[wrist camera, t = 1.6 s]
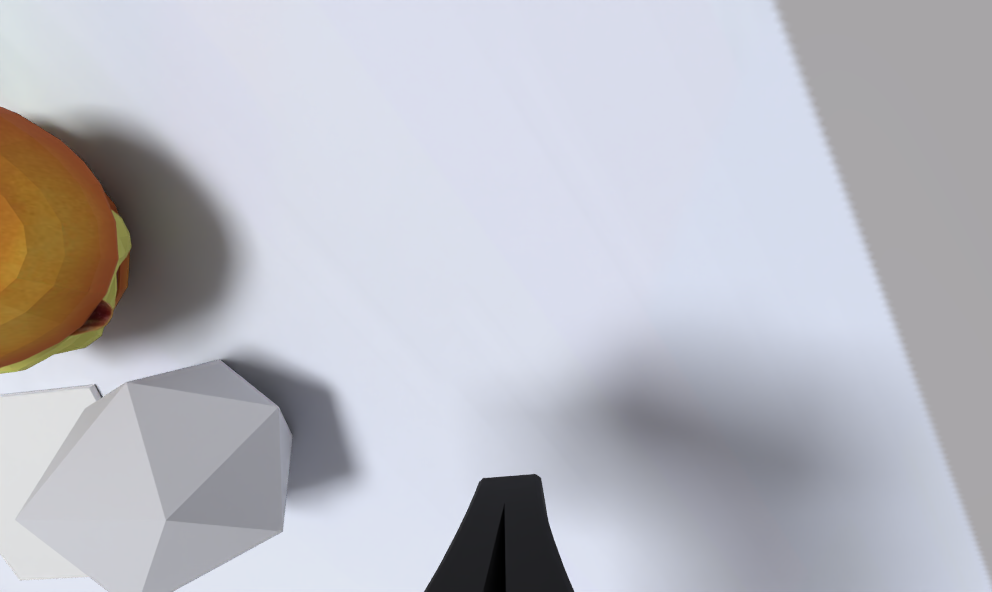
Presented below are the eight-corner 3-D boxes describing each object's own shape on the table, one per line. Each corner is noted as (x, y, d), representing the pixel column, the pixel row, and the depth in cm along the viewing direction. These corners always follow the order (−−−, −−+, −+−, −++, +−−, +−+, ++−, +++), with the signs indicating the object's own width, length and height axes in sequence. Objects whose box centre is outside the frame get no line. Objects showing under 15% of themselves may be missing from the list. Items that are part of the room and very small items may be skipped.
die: (369, 403, 22) (193, 297, 22) (230, 555, 14) (-46, 382, 14) (311, 518, 25) (157, 423, 25) (167, 700, 17) (-59, 554, 17)
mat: (195, 567, 28) (191, 571, 28) (24, 576, 30) (19, 580, 29) (94, 384, 23) (88, 388, 23) (-103, 405, 25) (-110, 409, 25)
